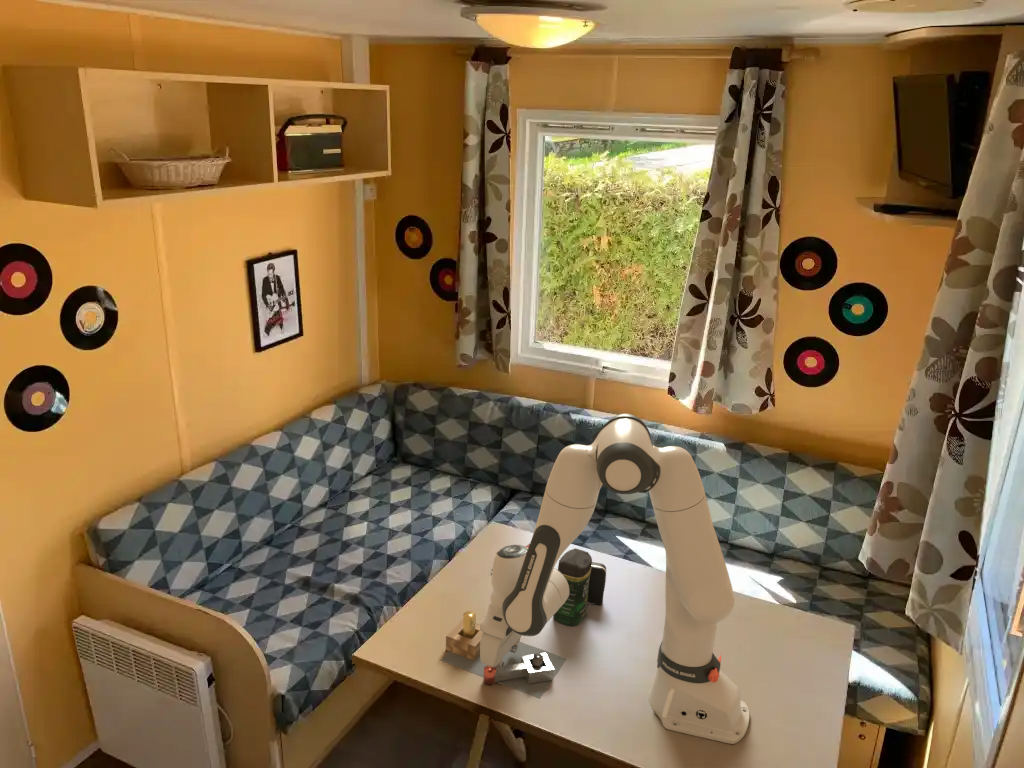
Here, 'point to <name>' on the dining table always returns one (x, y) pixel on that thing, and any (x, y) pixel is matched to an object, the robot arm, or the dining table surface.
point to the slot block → (464, 642)
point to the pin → (469, 624)
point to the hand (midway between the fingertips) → (506, 659)
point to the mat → (509, 659)
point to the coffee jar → (575, 586)
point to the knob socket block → (520, 671)
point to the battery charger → (597, 583)
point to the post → (537, 660)
